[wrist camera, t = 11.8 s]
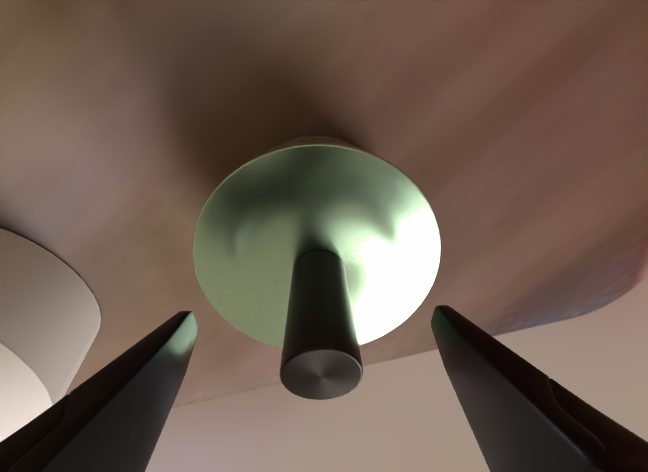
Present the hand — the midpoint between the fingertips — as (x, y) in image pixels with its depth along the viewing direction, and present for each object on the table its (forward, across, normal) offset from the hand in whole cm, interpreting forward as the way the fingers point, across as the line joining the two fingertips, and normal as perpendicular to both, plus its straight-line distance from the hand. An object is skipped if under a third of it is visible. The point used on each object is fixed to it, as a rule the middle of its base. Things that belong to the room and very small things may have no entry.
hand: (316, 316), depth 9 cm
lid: (+3, 0, 0) cm, 3 cm away
